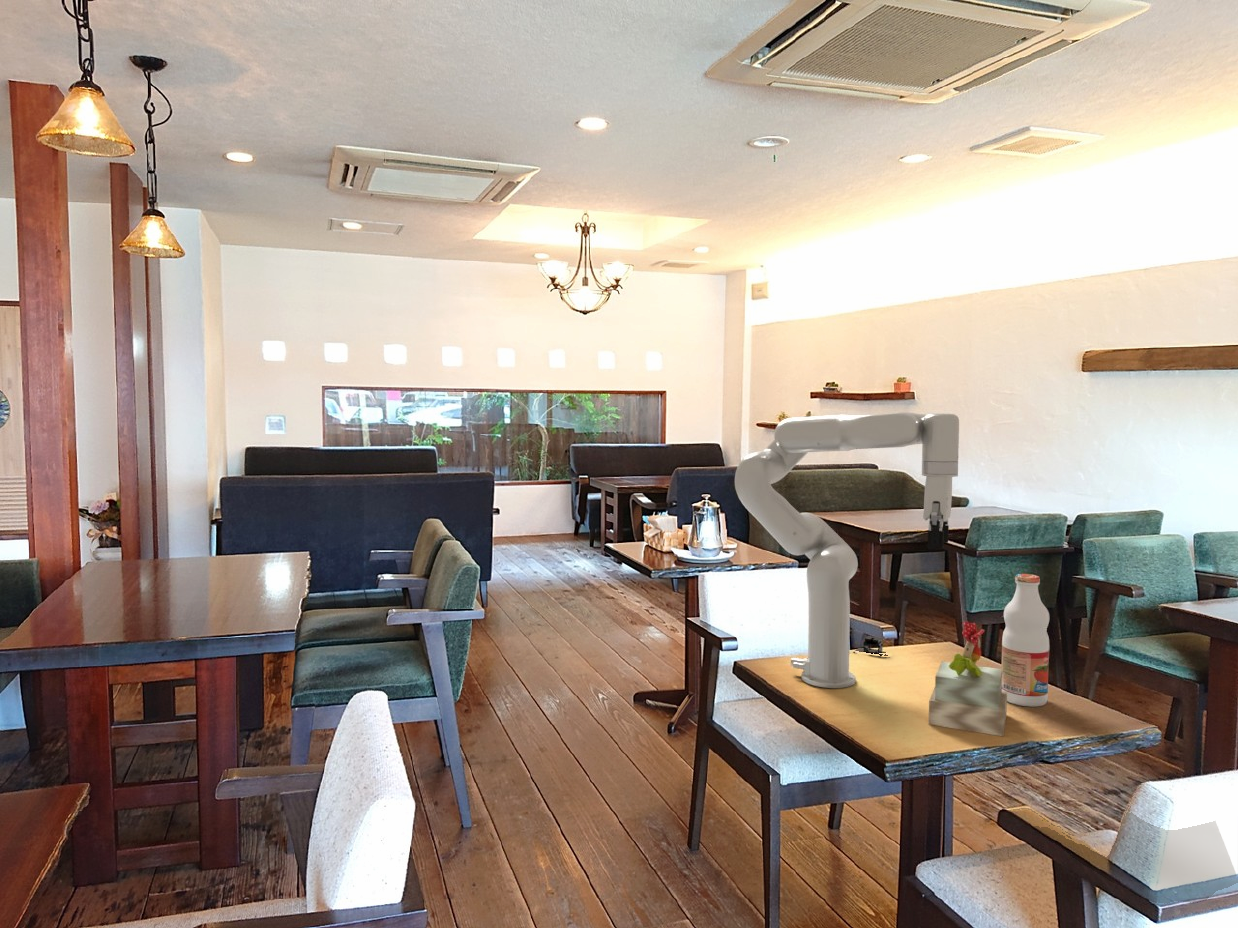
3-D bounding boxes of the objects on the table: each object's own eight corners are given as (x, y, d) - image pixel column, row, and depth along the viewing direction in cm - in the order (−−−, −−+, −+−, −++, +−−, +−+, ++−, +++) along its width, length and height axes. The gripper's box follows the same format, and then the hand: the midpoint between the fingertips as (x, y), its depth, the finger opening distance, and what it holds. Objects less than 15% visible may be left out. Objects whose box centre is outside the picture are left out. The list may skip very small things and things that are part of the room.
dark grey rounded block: (845, 654, 223) (845, 637, 223) (854, 647, 229) (854, 631, 229) (892, 662, 216) (892, 644, 216) (900, 655, 222) (901, 638, 222)
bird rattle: (954, 676, 178) (946, 670, 171) (960, 625, 181) (952, 616, 174) (985, 682, 175) (978, 676, 168) (991, 629, 178) (984, 621, 171)
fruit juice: (1000, 690, 193) (1004, 570, 191) (1046, 696, 189) (1050, 573, 187) (1000, 703, 184) (1003, 578, 182) (1048, 710, 181) (1052, 581, 179)
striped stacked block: (928, 724, 173) (929, 676, 172) (936, 704, 184) (937, 659, 184) (1003, 736, 166) (1004, 686, 166) (1006, 714, 178) (1007, 668, 177)
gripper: (927, 466, 195) (925, 538, 197) (916, 471, 180) (914, 550, 181) (961, 467, 192) (959, 541, 193) (953, 472, 177) (951, 553, 178)
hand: (938, 545), depth 187 cm, fingers open, 9 cm apart
